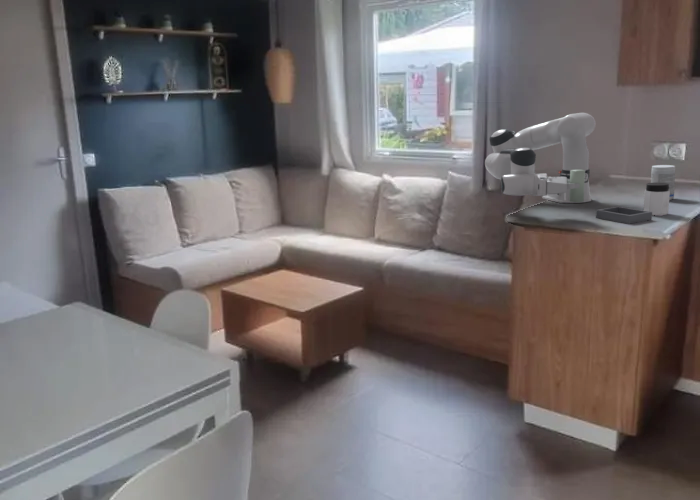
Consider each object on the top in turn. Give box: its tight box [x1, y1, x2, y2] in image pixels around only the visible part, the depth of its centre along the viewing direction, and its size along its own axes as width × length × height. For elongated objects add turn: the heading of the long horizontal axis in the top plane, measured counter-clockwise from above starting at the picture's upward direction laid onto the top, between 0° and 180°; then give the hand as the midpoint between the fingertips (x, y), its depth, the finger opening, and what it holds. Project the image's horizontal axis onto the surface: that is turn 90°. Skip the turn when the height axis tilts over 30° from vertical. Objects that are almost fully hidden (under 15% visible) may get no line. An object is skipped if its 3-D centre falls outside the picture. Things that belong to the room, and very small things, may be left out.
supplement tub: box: [650, 164, 676, 201], centre depth 288 cm, size 10×10×15 cm
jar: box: [643, 182, 670, 217], centre depth 258 cm, size 9×8×12 cm
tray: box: [595, 206, 653, 225], centre depth 252 cm, size 16×12×3 cm
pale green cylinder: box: [569, 170, 585, 203], centre depth 254 cm, size 5×5×12 cm
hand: (579, 184), depth 254 cm, fingers closed on pale green cylinder, 5 cm apart
